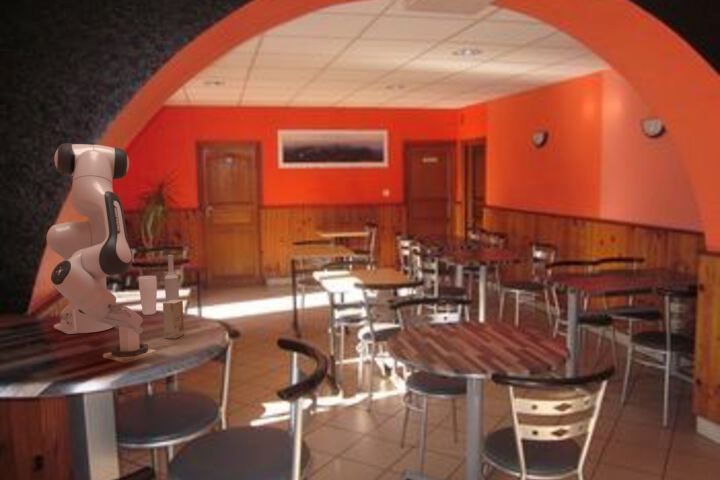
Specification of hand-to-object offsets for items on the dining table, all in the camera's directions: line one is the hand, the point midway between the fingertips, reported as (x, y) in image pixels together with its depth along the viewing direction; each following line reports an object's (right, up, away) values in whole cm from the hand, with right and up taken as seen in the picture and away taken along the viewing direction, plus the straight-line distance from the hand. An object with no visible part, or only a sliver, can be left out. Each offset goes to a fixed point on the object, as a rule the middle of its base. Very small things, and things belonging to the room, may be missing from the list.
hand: (130, 329), depth 182 cm
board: (0, -8, 0) cm, 8 cm away
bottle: (-1, -4, +46) cm, 47 cm away
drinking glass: (-15, -3, +58) cm, 60 cm away
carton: (0, -7, 0) cm, 7 cm away
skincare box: (+6, -6, +22) cm, 24 cm away
